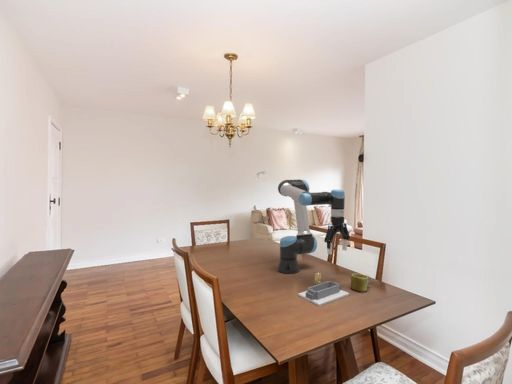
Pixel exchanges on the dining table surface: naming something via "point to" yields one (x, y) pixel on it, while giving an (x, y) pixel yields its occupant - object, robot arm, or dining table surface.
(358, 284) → the mug
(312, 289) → the white grey flat tray
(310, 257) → the dining table surface
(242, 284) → the dining table surface
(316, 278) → the pin
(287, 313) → the dining table surface
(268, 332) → the dining table surface
